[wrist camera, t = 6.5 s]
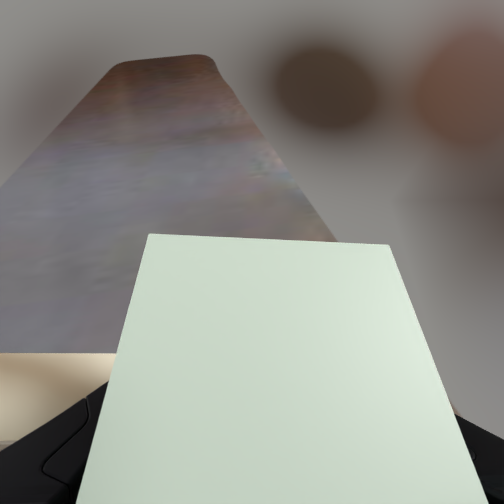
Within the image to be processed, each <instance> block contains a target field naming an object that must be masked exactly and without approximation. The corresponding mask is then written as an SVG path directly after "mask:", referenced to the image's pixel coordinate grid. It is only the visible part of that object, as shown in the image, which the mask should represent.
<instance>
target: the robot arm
mask: <svg viewBox="0 0 504 504" xmlns="http://www.w3.org/2000/svg"><path fill="white" fill-rule="evenodd" d="M108 383H109V381H107V382H106V383H104V384H103V385H101V386H100V387H98V388H97V389H96V390H94V391H93V392H91V393H90V394H88V395H87V396H86V399H85V398H82V399H81V400H79V401H78V402H77V403H75V404H74V405H72V406H71V407H69V408H68V409H66V410H65V411H63V412H62V413H60V414H59V415H57V416H56V417H54V418H53V419H51V420H50V421H48V422H47V423H45V424H43V425H42V426H40V427H39V428H37V429H35V430H34V431H32V432H30V433H29V434H27V435H26V436H24V437H22V438H21V439H19V440H18V441H16V442H14V443H13V444H11V445H9V446H8V447H6V448H4V449H3V450H1V451H0V504H76V501H77V497H78V494H79V490H80V486H81V482H82V479H83V475H84V471H85V468H86V464H87V460H88V457H89V453H90V449H91V446H92V442H93V438H94V434H95V431H96V427H97V423H98V420H99V416H100V412H101V409H102V405H103V401H104V398H105V394H106V390H107V387H108ZM454 415H455V418H456V421H457V423H458V426H459V428H460V431H461V434H462V436H463V439H464V441H465V444H466V446H467V449H468V452H469V454H470V457H471V459H472V462H473V465H474V467H475V470H476V472H477V475H478V478H479V480H480V483H481V485H482V488H483V491H484V493H485V496H486V498H487V501H488V504H504V440H503V439H502V438H500V437H498V436H496V435H494V434H492V433H490V432H488V431H486V430H484V429H482V428H480V427H478V426H476V425H475V424H473V423H471V422H469V421H467V420H465V419H463V418H461V417H460V416H458V415H456V414H454Z"/></svg>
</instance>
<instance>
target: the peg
mask: <svg viewBox="0 0 504 504" xmlns="http://www.w3.org/2000/svg"><path fill="white" fill-rule="evenodd" d="M76 504H488V501H487V498H486V496H485V493H484V491H483V488H482V485H481V483H480V480H479V478H478V475H477V472H476V470H475V467H474V465H473V462H472V459H471V457H470V454H469V452H468V449H467V446H466V444H465V441H464V439H463V436H462V434H461V431H460V428H459V426H458V423H457V421H456V418H455V415H454V413H453V410H452V408H451V405H450V402H449V400H448V397H447V395H446V392H445V389H444V388H443V384H442V382H441V379H440V377H439V374H438V372H437V369H436V366H435V364H434V361H433V358H432V356H431V353H430V351H429V348H428V345H427V343H426V340H425V338H424V335H423V332H422V330H421V327H420V325H419V322H418V320H417V317H416V314H415V312H414V309H413V306H412V304H411V301H410V299H409V296H408V294H407V291H406V288H405V286H404V283H403V281H402V278H401V275H400V273H399V270H398V268H397V265H396V262H395V260H394V257H393V255H392V252H391V249H390V247H389V245H378V244H357V243H335V242H314V241H293V240H272V239H251V238H229V237H208V236H187V235H166V234H149V235H148V239H147V243H146V246H145V250H144V254H143V257H142V261H141V265H140V268H139V272H138V276H137V279H136V283H135V287H134V291H133V294H132V298H131V302H130V305H129V309H128V313H127V316H126V320H125V324H124V327H123V331H122V335H121V339H120V342H119V346H118V350H117V353H116V357H115V361H114V364H113V368H112V372H111V375H110V379H109V383H108V387H107V390H106V394H105V398H104V401H103V405H102V409H101V412H100V416H99V420H98V423H97V427H96V431H95V434H94V438H93V442H92V446H91V449H90V453H89V457H88V460H87V464H86V468H85V471H84V475H83V479H82V482H81V486H80V490H79V494H78V497H77V501H76Z"/></svg>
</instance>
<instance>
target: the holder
mask: <svg viewBox="0 0 504 504" xmlns="http://www.w3.org/2000/svg"><path fill="white" fill-rule="evenodd" d="M115 357H116V354H74V353H0V451H1V450H3V449H4V448H6V447H8V446H9V445H11V444H13V443H14V442H16V441H18V440H19V439H21V438H22V437H24V436H26V435H27V434H29V433H30V432H32V431H34V430H35V429H37V428H39V427H40V426H42V425H43V424H45V423H47V422H48V421H50V420H51V419H53V418H54V417H56V416H57V415H59V414H60V413H62V412H63V411H65V410H66V409H68V408H69V407H71V406H72V405H74V404H75V403H77V402H78V401H79V400H81V399H82V398H85V399H86V396H87V395H88V394H90V393H91V392H93V391H94V390H96V389H97V388H98V387H100V386H101V385H103V384H104V383H106V382H107V381H109V379H110V375H111V372H112V368H113V364H114V361H115Z"/></svg>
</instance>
